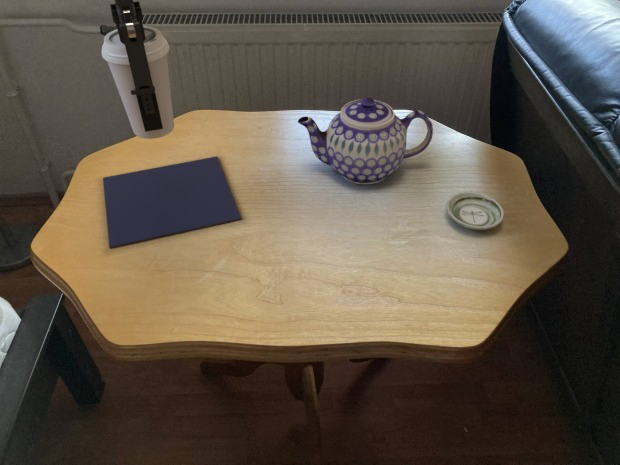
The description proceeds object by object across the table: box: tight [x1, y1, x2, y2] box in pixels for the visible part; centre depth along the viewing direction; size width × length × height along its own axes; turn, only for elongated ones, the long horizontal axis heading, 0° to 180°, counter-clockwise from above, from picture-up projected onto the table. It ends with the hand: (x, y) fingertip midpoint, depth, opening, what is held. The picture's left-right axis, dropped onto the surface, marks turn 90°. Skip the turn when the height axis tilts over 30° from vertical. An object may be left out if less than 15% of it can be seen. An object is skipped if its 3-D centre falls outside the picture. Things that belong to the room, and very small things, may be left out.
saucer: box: [445, 191, 505, 231], centre depth 88 cm, size 10×10×2 cm
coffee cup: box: [101, 25, 175, 140], centre depth 78 cm, size 10×10×15 cm
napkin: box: [102, 155, 242, 249], centre depth 93 cm, size 22×20×1 cm
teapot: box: [297, 96, 434, 185], centre depth 95 cm, size 25×15×15 cm, turn 90°
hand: (150, 116), depth 82 cm, fingers closed on coffee cup, 7 cm apart
